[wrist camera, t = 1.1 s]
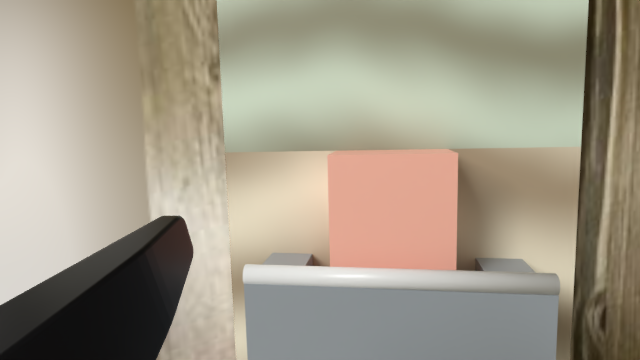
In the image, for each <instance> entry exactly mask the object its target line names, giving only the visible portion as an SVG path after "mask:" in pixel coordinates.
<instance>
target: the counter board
mask: <svg viewBox="0 0 640 360" xmlns="http://www.w3.org/2000/svg"><path fill="white" fill-rule="evenodd" d="M588 3H589V0H217V13H218V31H219V50H220V69H221V87H222V106H223V125H224V144H225V162H226V181H227V200H228V218H229V237H230V256H231V274H232V293H233V312H234V330H235V349H236V360H248V358H247V338H246V318H245V298H244V283H243V269H244V266H245V265H246V264H259V265H262V264H263V263H264V262H265V260H266V259H267V258H268V257H269V256H270V255H271V254H272V253H302V254H312V261H313V266H328V267H330V245H329V202H328V159H327V155H329V154H331V153H333V152H335V151H348V150H409V149H449V150H451V151H454V152H456V153H458V196H457V261H456V270H464V271H475V262H476V258H506V259H523V260H524V261H525V262H526V263H527V264H528V265H529V266H530V267H531V268H532V269H533V270H534V271H535V272H536V273H556V274H557V275H558V277H559V280H560V294H559V295H558V296H559V302H558V323H557V344H556V360H570V351H571V331H572V312H573V293H574V274H575V254H576V235H577V216H578V196H579V177H580V158H581V139H582V119H583V100H584V81H585V61H586V42H587V23H588Z"/></svg>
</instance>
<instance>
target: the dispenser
mask: <svg viewBox="0 0 640 360" xmlns="http://www.w3.org/2000/svg"><path fill="white" fill-rule="evenodd" d="M243 283H244V298H245V318H246V338H247V358H248V360H556V344H557V323H558V302H559V296H558V295H559V294H560V280H559V277H558V275H557V274H556V273H536V272H535V271H534V270H533V269H532V268H531V267H530V266H529V265H528V264H527V263H526V262H525V261H524V260H523V259H506V258H476V262H475V271H464V270H430V269H396V268H362V267H328V266H313V261H312V254H302V253H272V254H271V255H270V256H269V257H268V258H267V259H266V260H265V262H264V263H263V264H262V265H259V264H246V265H245V266H244V269H243Z"/></svg>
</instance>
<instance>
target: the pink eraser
mask: <svg viewBox="0 0 640 360" xmlns="http://www.w3.org/2000/svg"><path fill="white" fill-rule="evenodd" d="M327 159H328V202H329V245H330V267H362V268H396V269H430V270H456V261H457V196H458V153H456V152H454V151H451V150H449V149H409V150H348V151H335V152H333V153H331V154H329V155H327Z"/></svg>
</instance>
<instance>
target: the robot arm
mask: <svg viewBox="0 0 640 360" xmlns="http://www.w3.org/2000/svg"><path fill="white" fill-rule="evenodd" d="M192 258H193V246H192V242H191V239H190V236H189V232H188V229H187V226H186V223H185V220H184V219H183V218H182V217H181V216H161V217H159V218H157V219H156V220H154V221H152V222H150V223H148V224H147V225H145V226H143V227H141V228H139V229H138V230H136V231H134V232H132V233H130V234H128V235H127V236H125V237H123V238H121V239H119V240H118V241H116V242H114V243H112V244H110V245H109V246H107V247H105V248H103V249H101V250H100V251H98V252H96V253H94V254H92V255H91V256H89V257H87V258H85V259H83V260H81V261H80V262H78V263H76V264H74V265H73V266H71V267H69V268H67V269H65V270H63V271H62V272H60V273H58V274H56V275H54V276H53V277H51V278H49V279H47V280H45V281H44V282H42V283H40V284H38V285H36V286H35V287H33V288H31V289H29V290H27V291H25V292H24V293H22V294H20V295H18V296H16V297H15V298H13V299H11V300H9V301H7V302H6V303H4V304H2V305H0V360H156V358H157V356H158V354H159V352H160V349H161V347H162V345H163V343H164V340H165V338H166V336H167V333H168V331H169V329H170V326H171V324H172V321H173V318H174V315H175V313H176V309H177V306H178V303H179V300H180V297H181V294H182V290H183V287H184V284H185V281H186V278H187V275H188V271H189V268H190V265H191V262H192Z"/></svg>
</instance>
